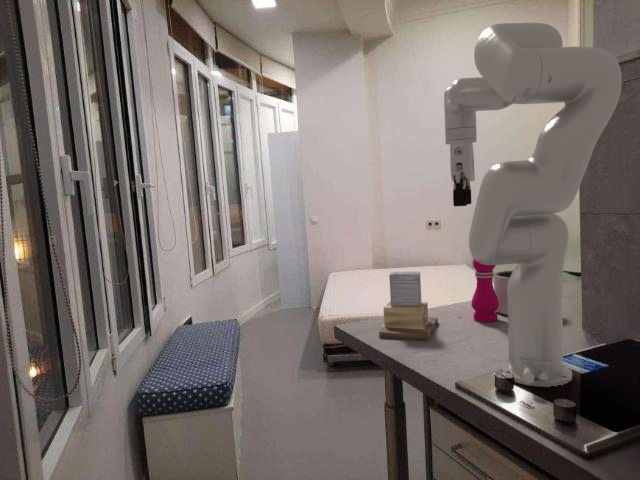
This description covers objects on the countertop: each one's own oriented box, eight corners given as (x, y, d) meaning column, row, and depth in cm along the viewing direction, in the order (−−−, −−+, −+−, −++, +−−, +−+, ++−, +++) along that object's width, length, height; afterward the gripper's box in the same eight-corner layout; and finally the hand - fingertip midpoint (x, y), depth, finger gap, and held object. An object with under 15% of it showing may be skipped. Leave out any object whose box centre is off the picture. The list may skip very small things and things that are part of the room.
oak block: (422, 328, 121) (421, 309, 121) (384, 325, 125) (383, 307, 125) (428, 319, 129) (427, 301, 128) (392, 318, 133) (391, 300, 132)
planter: (488, 307, 144) (487, 271, 143) (530, 306, 143) (530, 269, 142) (502, 318, 131) (501, 279, 130) (549, 316, 131) (548, 276, 130)
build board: (426, 340, 116) (426, 334, 116) (377, 337, 121) (377, 331, 121) (437, 323, 131) (437, 317, 130) (393, 320, 136) (393, 315, 135)
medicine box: (421, 302, 127) (420, 270, 126) (421, 306, 123) (419, 273, 122) (392, 302, 129) (390, 271, 128) (390, 306, 125) (389, 274, 124)
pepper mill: (492, 324, 126) (491, 250, 124) (467, 320, 131) (465, 249, 129) (503, 318, 132) (502, 246, 130) (478, 315, 136) (476, 246, 134)
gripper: (472, 132, 110) (474, 206, 111) (479, 138, 125) (481, 203, 127) (439, 135, 113) (442, 207, 114) (450, 141, 128) (452, 204, 130)
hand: (462, 205), depth 121 cm, fingers open, 9 cm apart
